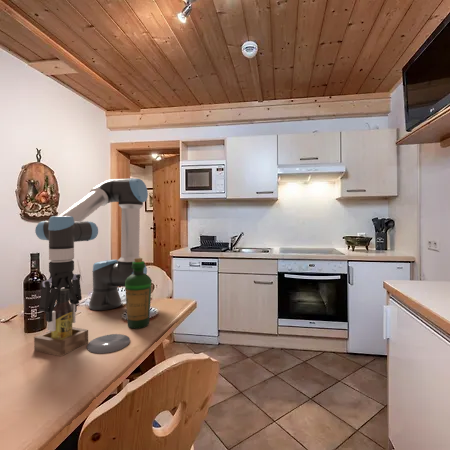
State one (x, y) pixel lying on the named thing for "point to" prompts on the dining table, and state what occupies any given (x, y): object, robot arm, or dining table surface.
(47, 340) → the open wooden box
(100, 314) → the dining table surface
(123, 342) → the slate trivet
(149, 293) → the bottle
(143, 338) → the dining table surface
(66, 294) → the sauce bottle
